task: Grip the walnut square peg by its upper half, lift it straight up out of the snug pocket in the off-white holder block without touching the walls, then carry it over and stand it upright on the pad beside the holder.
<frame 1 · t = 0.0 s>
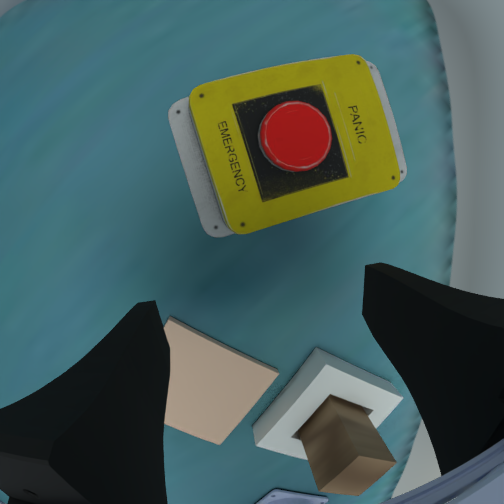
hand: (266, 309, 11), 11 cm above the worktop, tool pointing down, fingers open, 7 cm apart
pad: (196, 387, 23), on the worktop
emergency button: (295, 140, 20), on the worktop
pocket block: (324, 406, 25), on the worktop
peg: (326, 409, 24), resting on pocket block
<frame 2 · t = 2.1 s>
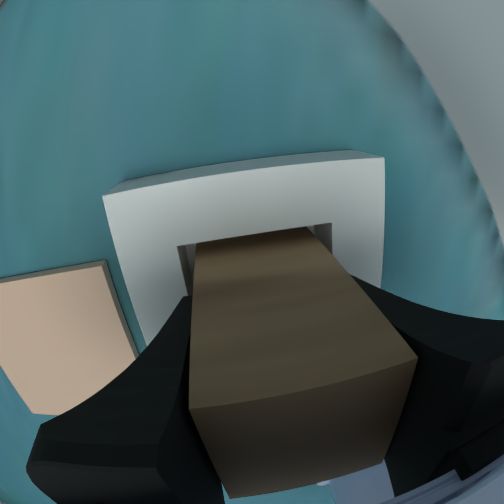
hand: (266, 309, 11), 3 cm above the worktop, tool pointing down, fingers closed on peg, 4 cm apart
pad: (58, 351, 14), on the worktop
pocket block: (253, 270, 13), on the worktop
peg: (255, 275, 13), resting on pocket block, touching gripper
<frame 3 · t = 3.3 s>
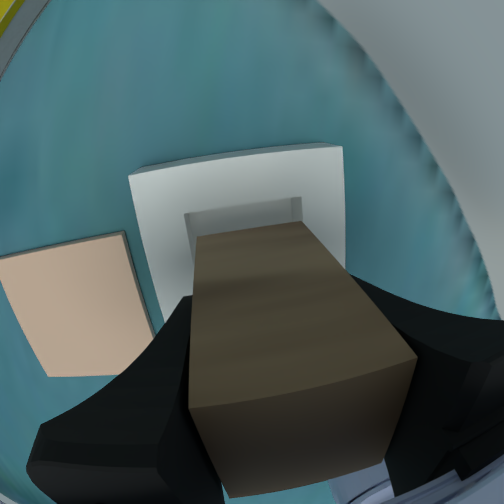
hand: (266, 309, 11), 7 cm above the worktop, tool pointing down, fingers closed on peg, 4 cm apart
pad: (77, 314, 17), on the worktop
pocket block: (243, 239, 17), on the worktop
peg: (255, 275, 13), point 4 cm above the worktop, touching gripper
when the fingers open (4 cm above the worktop, at t = 6.5 s): peg drops 1 cm, resting on pad.
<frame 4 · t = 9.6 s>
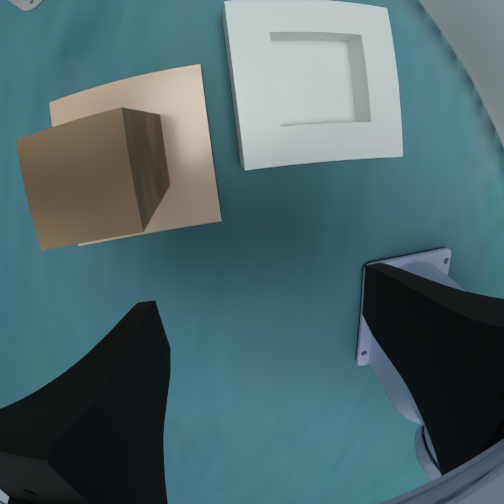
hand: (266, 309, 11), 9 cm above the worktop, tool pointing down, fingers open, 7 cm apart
pad: (132, 156, 17), on the worktop
pocket block: (309, 81, 16), on the worktop
peg: (130, 156, 16), point 1 cm above the worktop, touching pad
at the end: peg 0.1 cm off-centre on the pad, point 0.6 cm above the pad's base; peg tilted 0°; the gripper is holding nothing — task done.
